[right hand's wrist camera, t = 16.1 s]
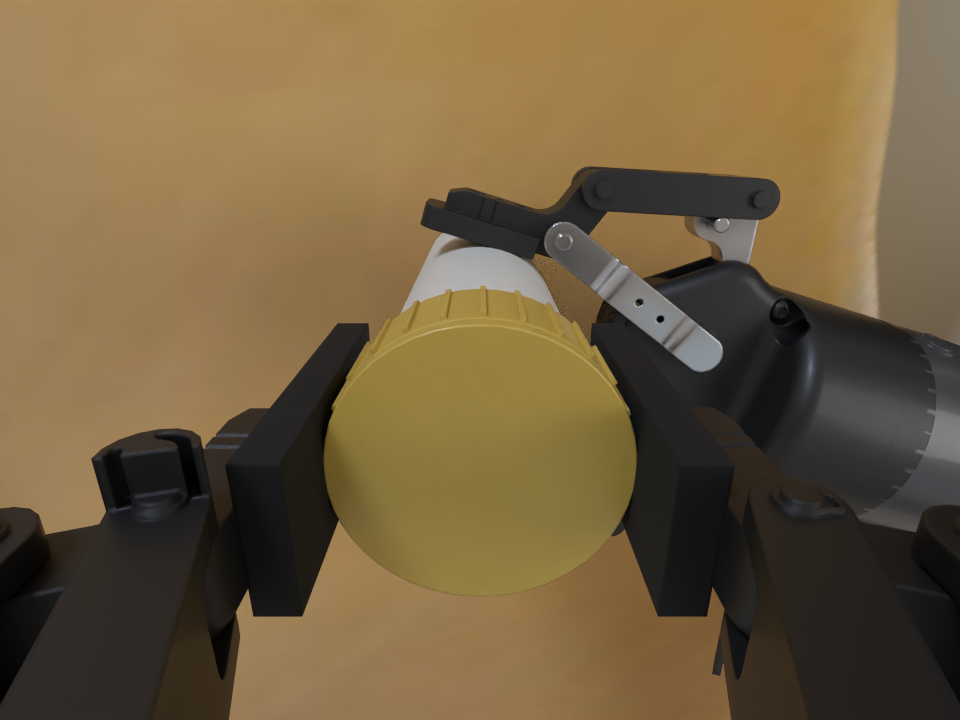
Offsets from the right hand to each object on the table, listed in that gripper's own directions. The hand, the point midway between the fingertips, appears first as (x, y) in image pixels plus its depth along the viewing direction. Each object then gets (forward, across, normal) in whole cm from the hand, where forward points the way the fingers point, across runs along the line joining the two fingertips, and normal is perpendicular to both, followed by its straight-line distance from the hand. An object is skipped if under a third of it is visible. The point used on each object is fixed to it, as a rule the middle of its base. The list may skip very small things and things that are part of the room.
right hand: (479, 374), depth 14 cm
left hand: (+6, -2, +1) cm, 6 cm away
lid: (-4, 0, 0) cm, 4 cm away
